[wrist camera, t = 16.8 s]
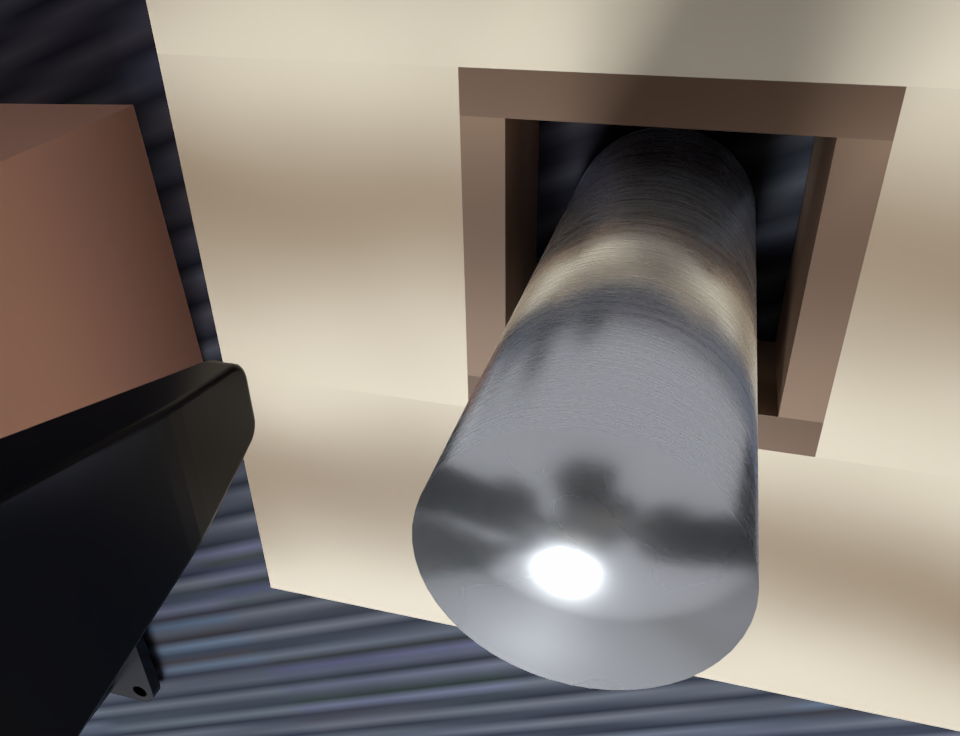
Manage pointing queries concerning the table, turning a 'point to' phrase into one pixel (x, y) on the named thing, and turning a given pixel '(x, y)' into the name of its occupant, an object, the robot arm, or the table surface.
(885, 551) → the pin board
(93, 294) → the block
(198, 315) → the table surface
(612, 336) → the steel pin
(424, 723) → the table surface
